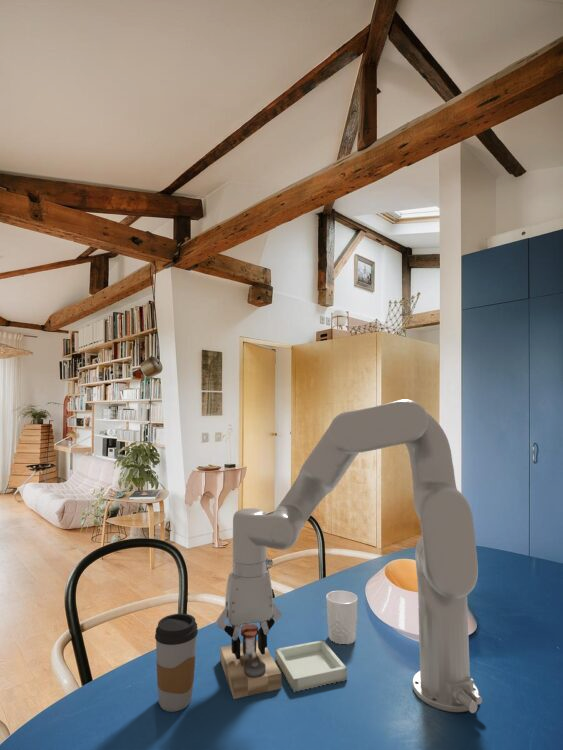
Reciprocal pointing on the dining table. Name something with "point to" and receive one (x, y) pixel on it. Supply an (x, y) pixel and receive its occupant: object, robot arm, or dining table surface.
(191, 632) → the coffee cup
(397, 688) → the dining table surface
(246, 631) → the pin
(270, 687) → the block
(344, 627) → the white cup
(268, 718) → the dining table surface
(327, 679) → the tray
